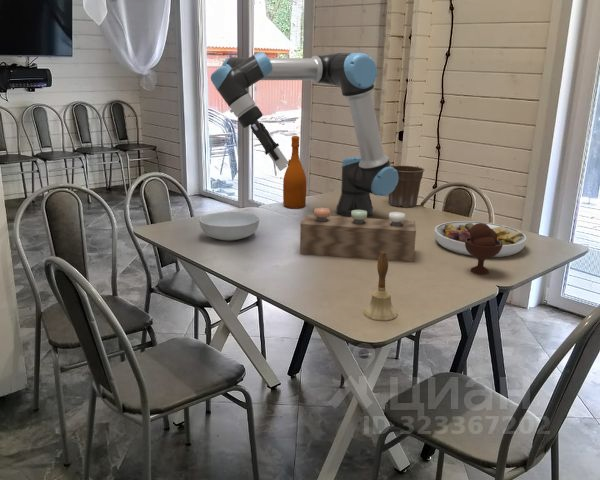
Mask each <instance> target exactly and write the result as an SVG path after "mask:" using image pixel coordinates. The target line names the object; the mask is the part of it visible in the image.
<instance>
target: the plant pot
mask: <svg viewBox="0 0 600 480" xmlns="http://www.w3.org/2000/svg"><path fill="white" fill-rule="evenodd" d="M390 166H391V167H393V168H394V169H396V170H397V172H398V183H397V186H396V187H395V189H394V190H393V192H391V193H390V194H389V195H388V204H389V205H390V206H393V207H398V208H399V207H402V208H413V207H416V206H417V204H418V198H419V192H420V188H421V182H422V179H423V175H424V172H425V168H423V167H419V166H415V165H414V166H412V165H390Z"/></svg>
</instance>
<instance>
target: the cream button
mask: <svg viewBox="0 0 600 480" xmlns="http://www.w3.org/2000/svg"><path fill="white" fill-rule="evenodd" d="M388 219H389V220H390V221H392V226H400V227H401V222H403V221H405V220H406V213H404V212H401V211H391V212H389V213H388Z"/></svg>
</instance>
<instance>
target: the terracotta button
mask: <svg viewBox="0 0 600 480" xmlns="http://www.w3.org/2000/svg"><path fill="white" fill-rule="evenodd" d="M313 212H314V213H313V215H314V216H316V217H317V221H319V222H327V217H329V216H331V208H328V207H315V208H314V211H313Z"/></svg>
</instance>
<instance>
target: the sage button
mask: <svg viewBox="0 0 600 480" xmlns="http://www.w3.org/2000/svg"><path fill="white" fill-rule="evenodd" d="M351 218H353V219H354V224H364V219H367V218H368V216H367V211H365V210H352V211H351Z"/></svg>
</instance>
